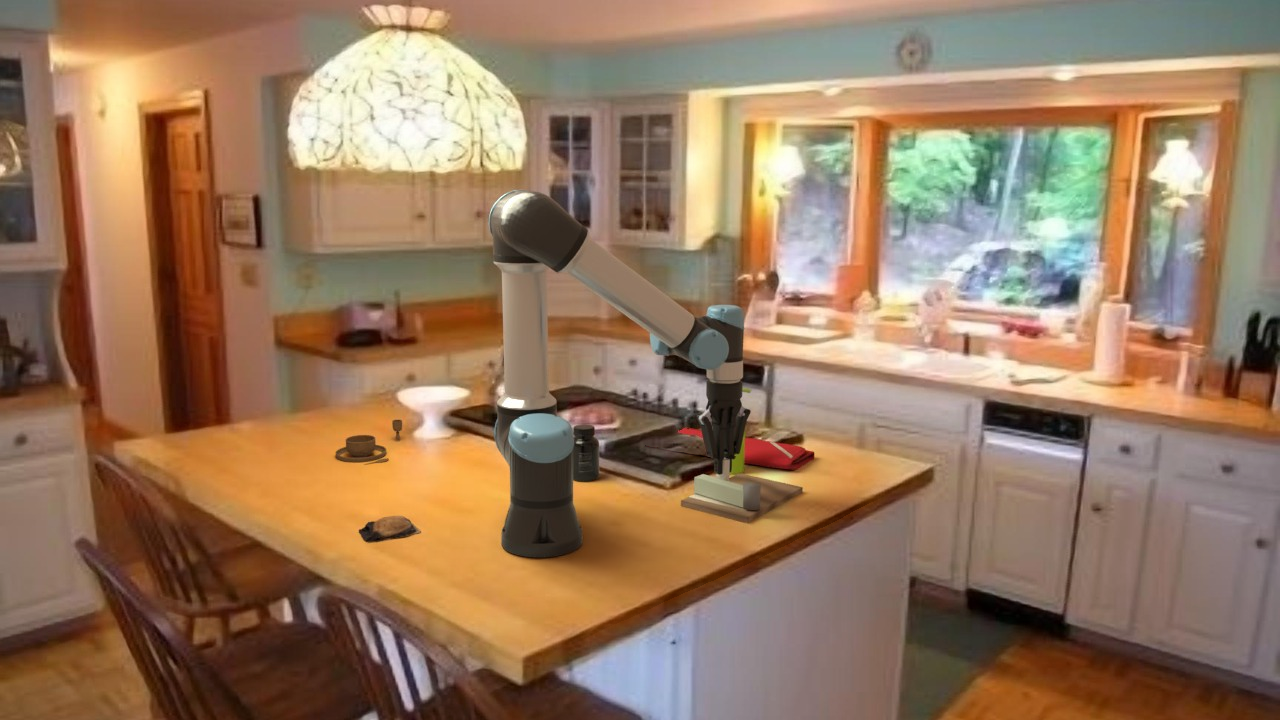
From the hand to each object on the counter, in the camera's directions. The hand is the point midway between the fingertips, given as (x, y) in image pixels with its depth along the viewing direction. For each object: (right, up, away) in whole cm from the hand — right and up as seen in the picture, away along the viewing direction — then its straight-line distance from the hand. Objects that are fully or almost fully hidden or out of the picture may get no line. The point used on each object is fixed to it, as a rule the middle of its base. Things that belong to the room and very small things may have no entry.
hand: (722, 487), depth 201 cm
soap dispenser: (+4, +1, +21) cm, 22 cm away
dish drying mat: (+4, +3, +36) cm, 37 cm away
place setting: (-83, +4, +32) cm, 89 cm away
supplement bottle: (-30, 0, +15) cm, 34 cm away
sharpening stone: (+1, -2, -4) cm, 4 cm away
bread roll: (-66, -7, -20) cm, 69 cm away
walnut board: (+5, -3, +1) cm, 5 cm away
